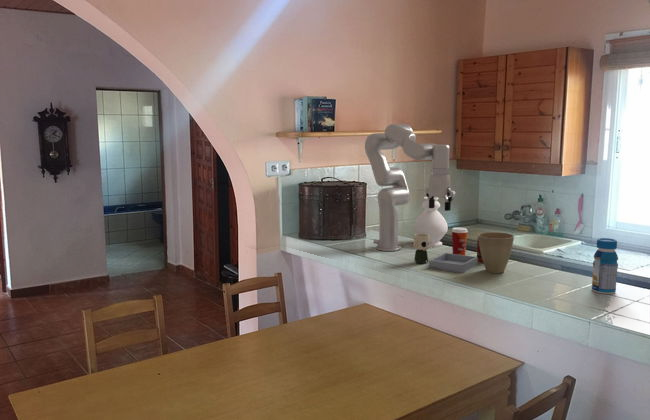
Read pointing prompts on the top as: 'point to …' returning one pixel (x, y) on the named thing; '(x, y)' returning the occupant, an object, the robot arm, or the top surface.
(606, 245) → the beverage bottle
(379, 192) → the robot arm
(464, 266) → the grey bin
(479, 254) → the canned food
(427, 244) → the character mug
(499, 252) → the plant pot
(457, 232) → the paper cup
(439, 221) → the decorative vase
